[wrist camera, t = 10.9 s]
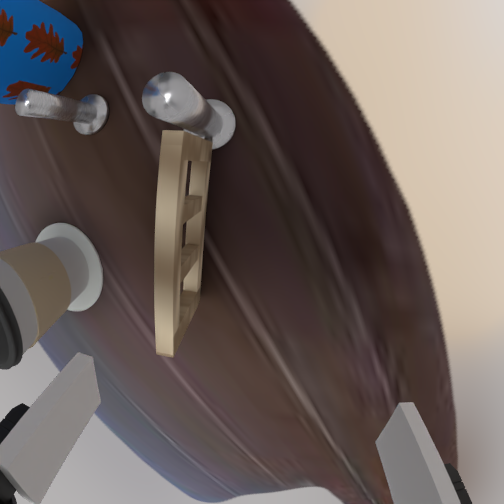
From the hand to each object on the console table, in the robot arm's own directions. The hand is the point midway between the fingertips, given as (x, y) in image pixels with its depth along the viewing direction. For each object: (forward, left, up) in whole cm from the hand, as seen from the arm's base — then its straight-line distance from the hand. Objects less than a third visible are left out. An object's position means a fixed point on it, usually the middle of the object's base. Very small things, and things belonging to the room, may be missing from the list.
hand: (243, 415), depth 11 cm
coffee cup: (+2, -21, -17) cm, 27 cm away
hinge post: (-13, -6, -17) cm, 22 cm away
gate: (-4, -6, -16) cm, 18 cm away
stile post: (-14, -18, -17) cm, 28 cm away
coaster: (+2, -21, -17) cm, 27 cm away
